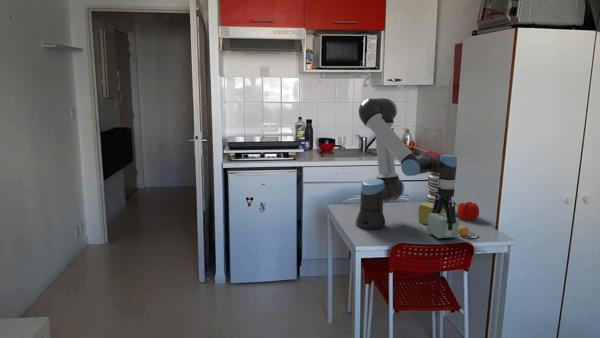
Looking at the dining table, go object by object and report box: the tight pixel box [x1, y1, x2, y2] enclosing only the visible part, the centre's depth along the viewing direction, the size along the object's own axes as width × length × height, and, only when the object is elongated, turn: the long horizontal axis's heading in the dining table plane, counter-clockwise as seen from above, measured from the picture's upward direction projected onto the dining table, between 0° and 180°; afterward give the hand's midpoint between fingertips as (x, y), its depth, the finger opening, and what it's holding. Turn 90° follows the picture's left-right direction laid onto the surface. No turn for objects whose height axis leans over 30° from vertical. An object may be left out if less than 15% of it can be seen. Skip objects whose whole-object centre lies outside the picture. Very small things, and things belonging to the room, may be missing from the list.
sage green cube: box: [426, 212, 460, 239], centre depth 216 cm, size 10×10×9 cm
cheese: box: [418, 202, 446, 226], centre depth 238 cm, size 10×11×10 cm
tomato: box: [456, 201, 480, 221], centre depth 246 cm, size 11×12×9 cm
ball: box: [458, 225, 470, 236], centre depth 219 cm, size 5×5×5 cm
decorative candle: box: [426, 172, 439, 203], centre depth 262 cm, size 9×9×25 cm
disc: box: [457, 231, 476, 240], centre depth 221 cm, size 10×10×1 cm
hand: (442, 232), depth 217 cm, fingers closed on sage green cube, 10 cm apart
